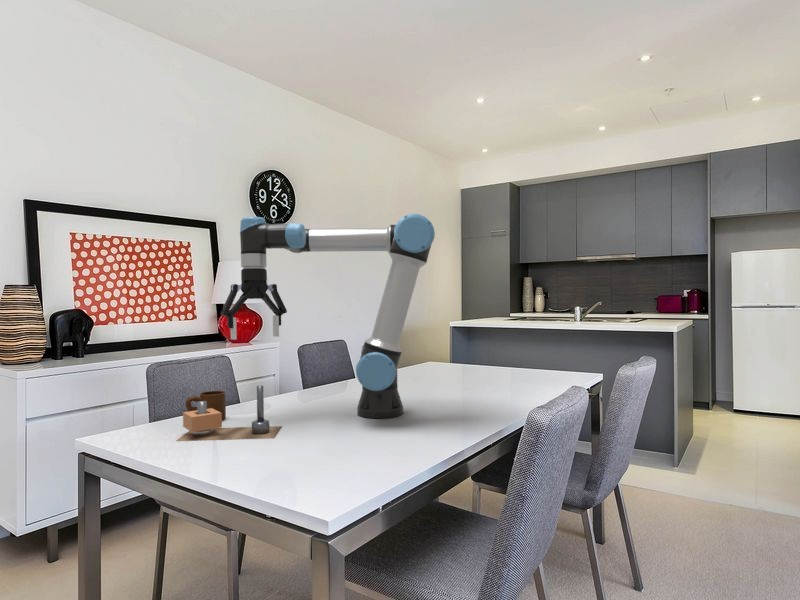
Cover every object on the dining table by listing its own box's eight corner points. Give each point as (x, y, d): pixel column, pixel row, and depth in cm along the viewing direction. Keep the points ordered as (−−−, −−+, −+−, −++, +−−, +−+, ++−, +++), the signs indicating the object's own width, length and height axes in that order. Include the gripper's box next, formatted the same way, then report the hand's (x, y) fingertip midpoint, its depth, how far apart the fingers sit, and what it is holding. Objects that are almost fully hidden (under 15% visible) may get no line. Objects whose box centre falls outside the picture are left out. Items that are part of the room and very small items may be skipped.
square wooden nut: (212, 422, 150) (211, 408, 150) (221, 427, 144) (221, 412, 144) (183, 426, 145) (182, 412, 145) (192, 432, 139) (191, 417, 139)
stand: (271, 429, 148) (270, 384, 148) (267, 434, 143) (267, 387, 143) (253, 430, 148) (253, 384, 148) (250, 434, 143) (249, 387, 143)
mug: (190, 429, 154) (189, 398, 154) (181, 425, 159) (181, 394, 159) (229, 423, 161) (229, 392, 161) (220, 418, 167) (219, 389, 167)
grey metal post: (215, 431, 148) (215, 399, 148) (209, 436, 142) (209, 403, 142) (195, 431, 147) (195, 400, 147) (188, 437, 142) (188, 404, 142)
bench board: (282, 429, 152) (282, 426, 152) (274, 441, 139) (274, 438, 139) (192, 432, 151) (192, 428, 151) (175, 444, 138) (175, 441, 138)
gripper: (285, 269, 170) (287, 334, 170) (208, 268, 154) (210, 339, 154) (296, 268, 164) (298, 335, 164) (217, 266, 148) (219, 341, 148)
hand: (255, 338), depth 159 cm, fingers open, 13 cm apart
